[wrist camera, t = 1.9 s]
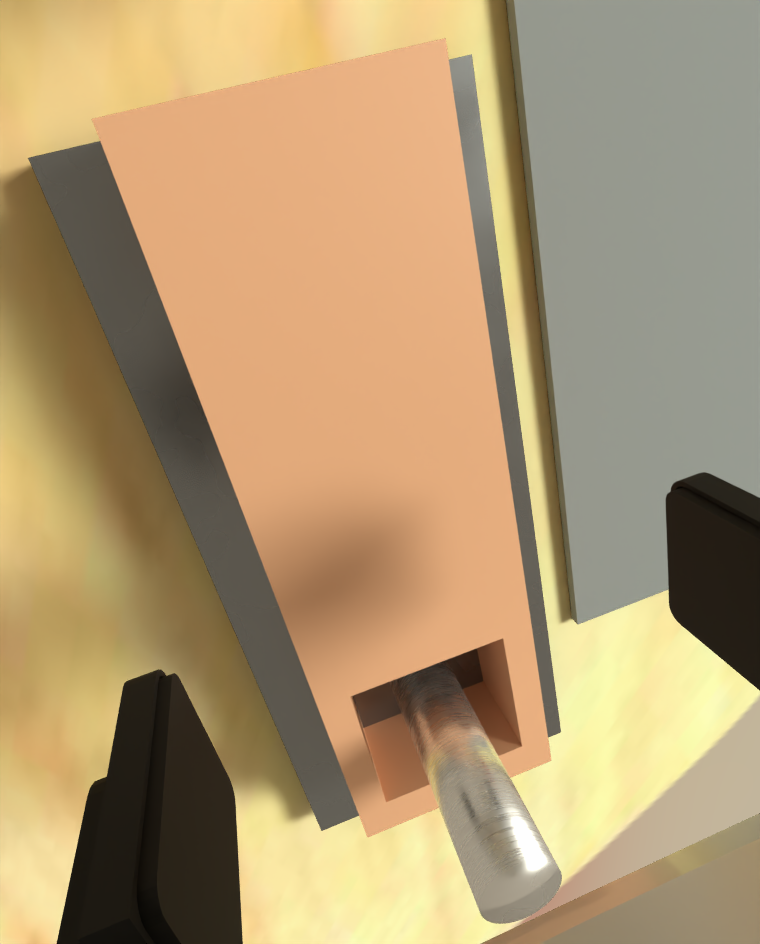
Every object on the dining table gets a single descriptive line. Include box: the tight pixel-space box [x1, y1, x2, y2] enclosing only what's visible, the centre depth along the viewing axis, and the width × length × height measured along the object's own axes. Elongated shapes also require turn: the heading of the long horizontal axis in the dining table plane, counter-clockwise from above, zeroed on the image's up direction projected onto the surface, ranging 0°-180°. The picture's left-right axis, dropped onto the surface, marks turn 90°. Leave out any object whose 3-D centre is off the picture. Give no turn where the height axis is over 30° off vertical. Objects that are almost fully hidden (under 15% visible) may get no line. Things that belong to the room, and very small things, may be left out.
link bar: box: [92, 38, 551, 837], centre depth 16 cm, size 20×6×3 cm, turn 13°
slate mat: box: [506, 0, 760, 624], centre depth 19 cm, size 22×10×1 cm, turn 13°
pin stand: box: [28, 54, 562, 924], centre depth 15 cm, size 23×10×9 cm, turn 13°
